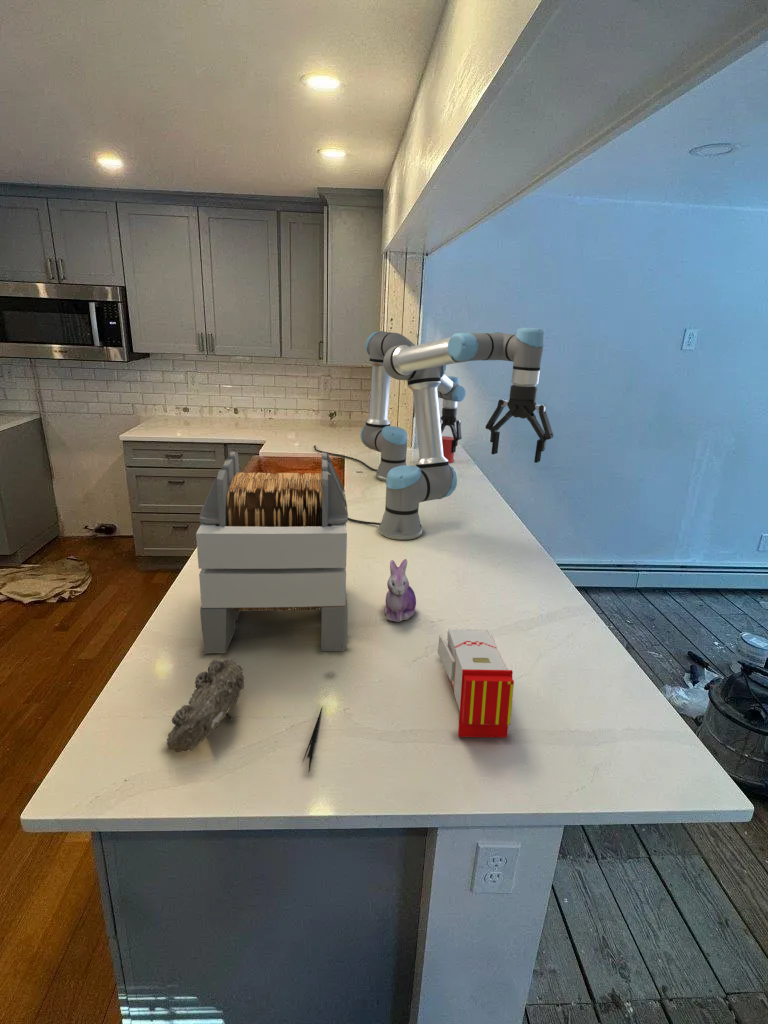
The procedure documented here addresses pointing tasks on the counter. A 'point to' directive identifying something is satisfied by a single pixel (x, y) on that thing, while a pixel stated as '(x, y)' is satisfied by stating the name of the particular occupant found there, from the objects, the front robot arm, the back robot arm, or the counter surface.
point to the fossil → (206, 705)
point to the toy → (478, 682)
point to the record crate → (273, 550)
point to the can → (447, 448)
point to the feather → (313, 740)
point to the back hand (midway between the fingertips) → (446, 450)
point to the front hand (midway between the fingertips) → (515, 457)
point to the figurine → (399, 594)
